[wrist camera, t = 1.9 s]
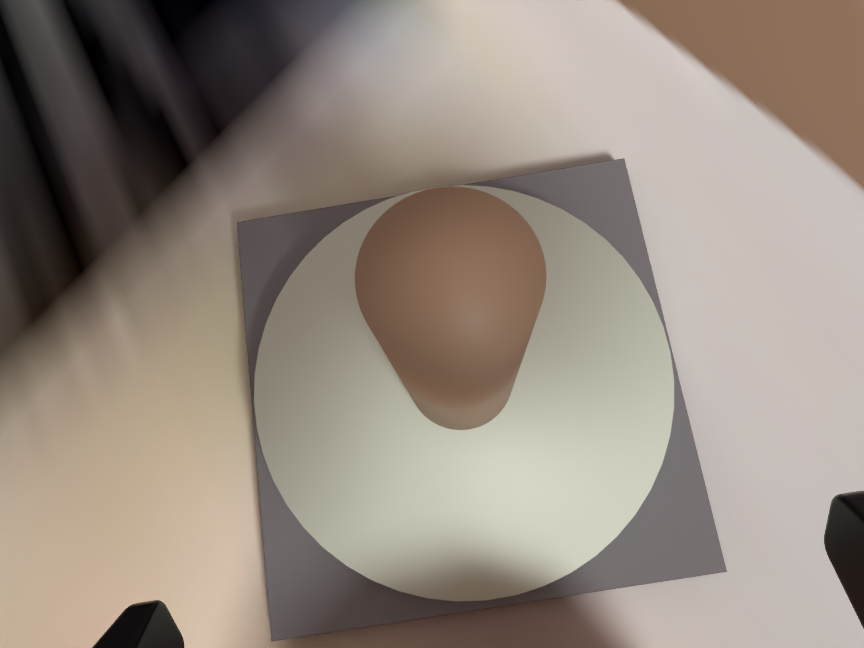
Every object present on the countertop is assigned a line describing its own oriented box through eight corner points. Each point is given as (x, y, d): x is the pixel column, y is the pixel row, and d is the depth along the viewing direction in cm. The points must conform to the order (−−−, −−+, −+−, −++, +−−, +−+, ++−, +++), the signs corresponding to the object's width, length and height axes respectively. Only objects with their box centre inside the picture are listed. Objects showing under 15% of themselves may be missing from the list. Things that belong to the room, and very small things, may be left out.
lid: (456, 697, 18) (437, 916, 9) (182, 377, 21) (-67, 272, 11) (753, 386, 20) (1020, 277, 10) (464, 126, 22) (458, -157, 13)
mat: (719, 569, 19) (726, 571, 19) (277, 637, 19) (271, 641, 19) (620, 167, 22) (623, 158, 22) (243, 229, 23) (236, 222, 22)
